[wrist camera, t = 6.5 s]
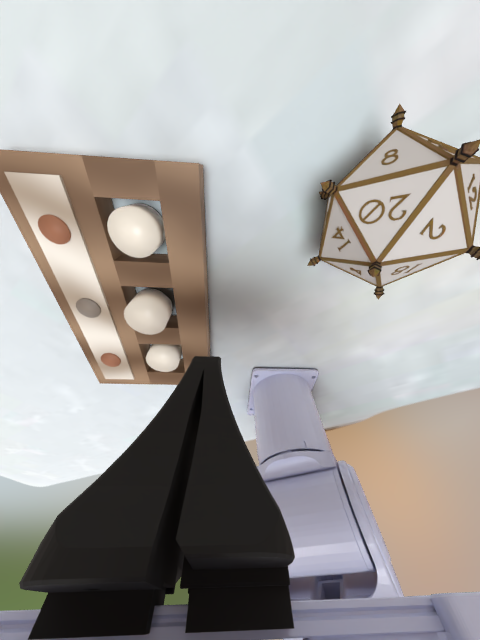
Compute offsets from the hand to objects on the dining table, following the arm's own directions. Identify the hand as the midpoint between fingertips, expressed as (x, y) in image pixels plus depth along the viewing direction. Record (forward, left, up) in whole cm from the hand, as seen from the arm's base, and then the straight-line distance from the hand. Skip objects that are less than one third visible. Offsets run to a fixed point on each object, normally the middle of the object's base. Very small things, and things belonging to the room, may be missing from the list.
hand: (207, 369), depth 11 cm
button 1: (+5, +5, -9) cm, 12 cm away
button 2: (-7, +5, -9) cm, 13 cm away
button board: (-1, +7, -9) cm, 12 cm away
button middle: (-1, +6, -8) cm, 10 cm away
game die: (+7, -10, -10) cm, 16 cm away
